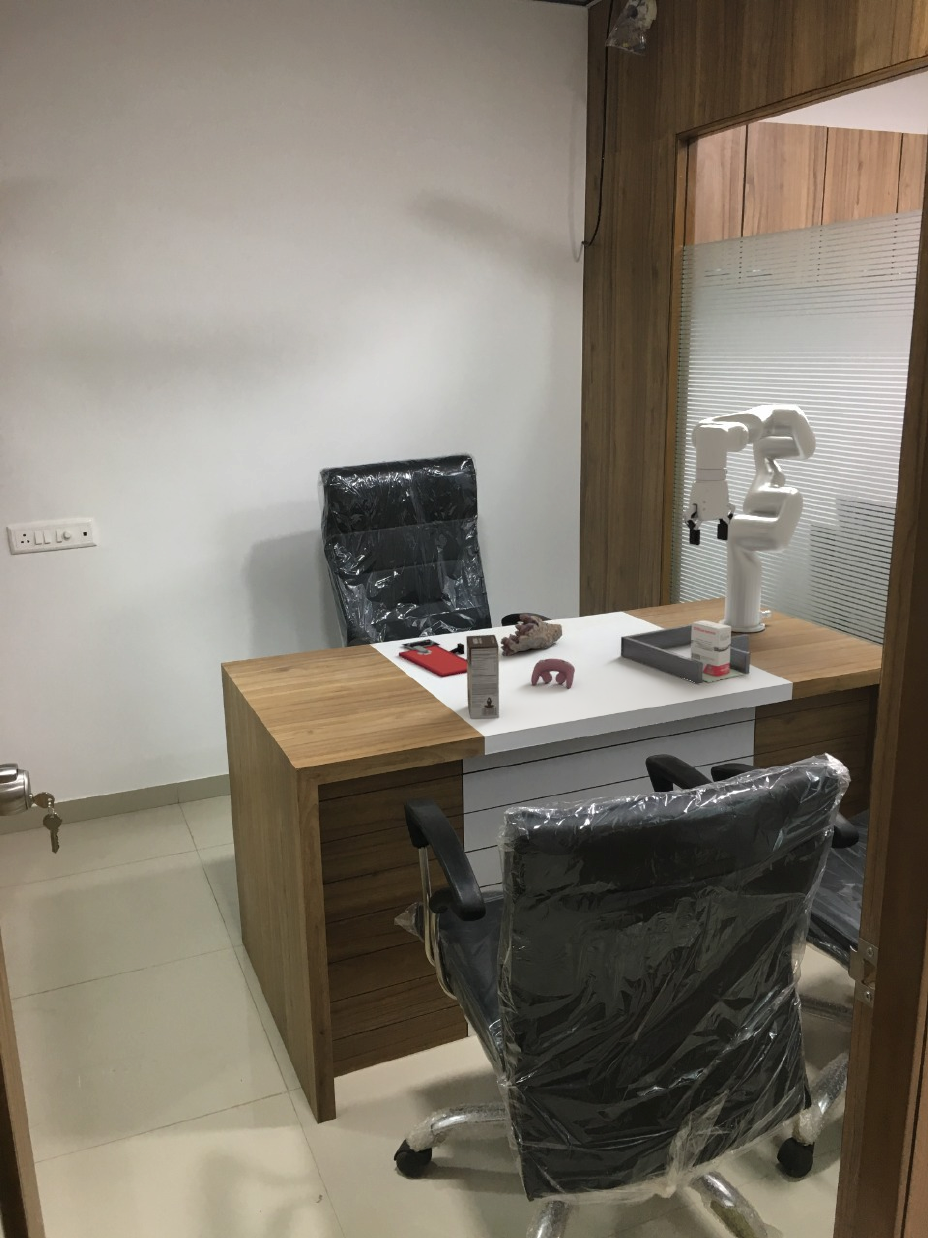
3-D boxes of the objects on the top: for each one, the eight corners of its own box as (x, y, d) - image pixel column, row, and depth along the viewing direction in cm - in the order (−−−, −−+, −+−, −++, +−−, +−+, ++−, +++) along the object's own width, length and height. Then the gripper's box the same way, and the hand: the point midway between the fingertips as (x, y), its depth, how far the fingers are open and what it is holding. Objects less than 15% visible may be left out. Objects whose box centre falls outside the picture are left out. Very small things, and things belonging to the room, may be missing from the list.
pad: (709, 664, 249) (709, 662, 249) (742, 675, 240) (742, 673, 240) (676, 671, 244) (676, 669, 244) (708, 682, 235) (708, 681, 235)
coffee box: (466, 705, 222) (465, 635, 218) (495, 704, 223) (494, 634, 219) (470, 719, 213) (469, 646, 209) (500, 718, 214) (499, 645, 210)
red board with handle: (435, 641, 275) (385, 650, 267) (434, 631, 274) (385, 640, 267) (494, 669, 250) (442, 680, 242) (494, 658, 249) (441, 669, 242)
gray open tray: (703, 639, 271) (703, 621, 270) (784, 664, 248) (785, 645, 246) (620, 655, 258) (621, 637, 256) (698, 684, 234) (699, 663, 233)
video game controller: (574, 691, 236) (577, 661, 237) (570, 687, 231) (573, 658, 233) (533, 687, 239) (536, 658, 240) (529, 684, 234) (532, 655, 236)
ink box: (730, 673, 240) (732, 625, 238) (716, 677, 237) (719, 629, 235) (702, 665, 247) (704, 618, 244) (688, 669, 244) (690, 622, 241)
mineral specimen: (531, 641, 253) (511, 609, 256) (504, 663, 258) (485, 632, 261) (571, 637, 270) (552, 607, 273) (546, 658, 275) (527, 628, 278)
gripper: (724, 470, 261) (722, 535, 266) (674, 477, 253) (673, 544, 257) (746, 473, 255) (743, 540, 259) (695, 479, 246) (693, 548, 251)
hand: (708, 542), depth 258 cm, fingers open, 9 cm apart
